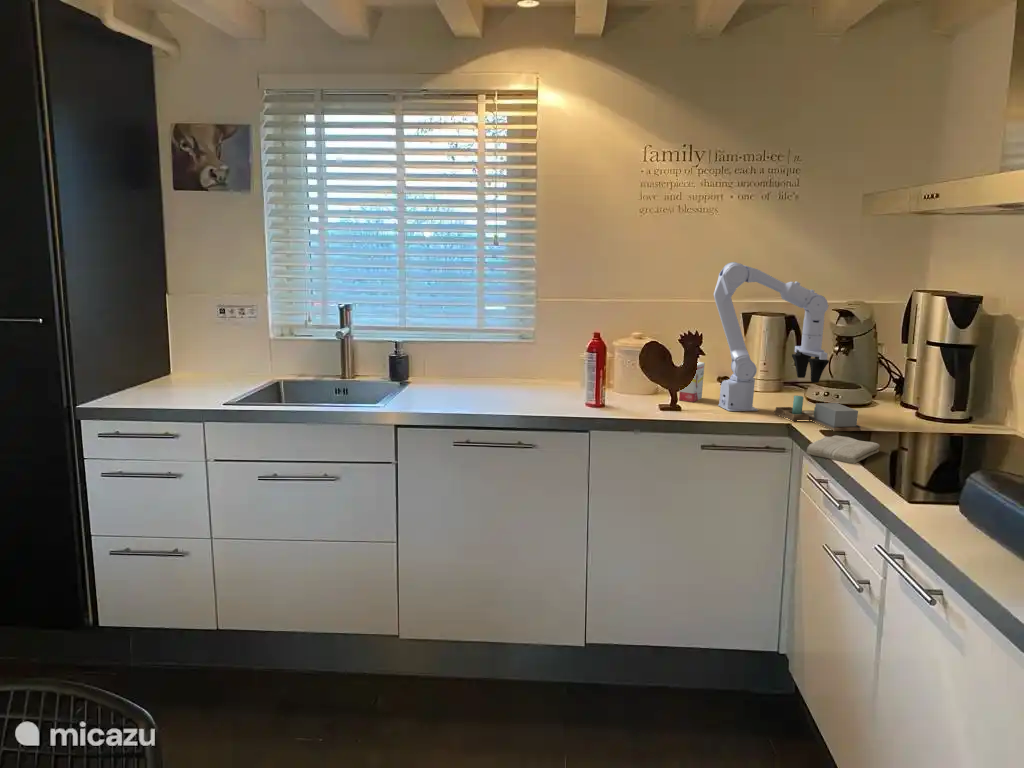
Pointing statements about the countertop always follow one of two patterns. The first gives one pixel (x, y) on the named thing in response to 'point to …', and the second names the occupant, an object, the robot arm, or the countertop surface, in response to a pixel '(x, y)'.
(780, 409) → the build board
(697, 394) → the ink box
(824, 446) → the washcloth
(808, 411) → the plate
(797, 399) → the peg
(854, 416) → the grey rectangular block
